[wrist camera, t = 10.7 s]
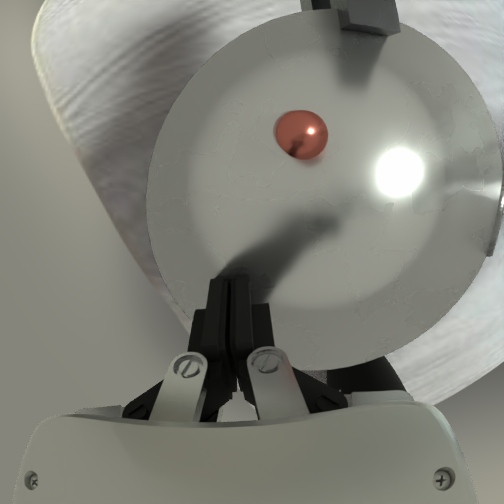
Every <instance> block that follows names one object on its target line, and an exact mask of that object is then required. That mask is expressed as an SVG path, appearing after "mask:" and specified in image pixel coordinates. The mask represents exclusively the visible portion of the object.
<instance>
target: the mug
mask: <svg viewBox="0 0 504 504" xmlns="http://www.w3.org/2000/svg"><path fill="white" fill-rule="evenodd" d="M327 385H328V386H330V387H332V388H334V389H336V390H338V391H339V392H341V393H342V394H344V395H351V394H352V392H374V391H393V390H401V391H405V392H407V391H406V389H405V388H404V386H403V384H402V382H401V380H400V379H399V377H398V375H397V374H396V372H395V370H394V369H393V367H392V366H391V364H390V363H389V362H388V360H387V359H386V358H385V356H382V357H379V358H376V359H374V360H371V361H368V362H365V363H361V364H357V365H353V366H349V367H344V368H337V369H331V370H327Z"/></svg>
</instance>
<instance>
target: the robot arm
mask: <svg viewBox="0 0 504 504" xmlns="http://www.w3.org/2000/svg"><path fill="white" fill-rule="evenodd" d="M237 378H238V383H239V387H240V391H241V392H242V391H243V393H244V397H245V400H246V401H248V402H249V403H251V404H252V405H254V406H255V410H256V414H257V418H258V420H254V421H240V422H239V421H238V422H221V418H222V413H223V405H224V404H225V403H226V402H228V401H229V399H232V392H236V391H237ZM12 504H479V503H478V499H477V495H476V491H475V488H474V484H473V482H472V478H471V475H470V472H469V469H468V466H467V463H466V460H465V457H464V455H463V452H462V450H461V447H460V445H459V443H458V440H457V438H456V436H455V434H454V432H453V430H452V428H451V426H450V425H449V423H448V421H447V420H446V418H445V417H444V416H443V414H442V413H441V412H440V411H439V410H438V409H436V408H435V407H434V406H432V405H430V404H427V403H423V402H418V401H414V399H413V397H412V396H411V395H410V394H409V393H407V392H405V391H401V390H393V391H374V392H352V394H351V395H344V394H342V393H341V392H339V391H338V390H336V389H334V388H332V387H330V386H328V385H326V384H324V383H322V382H320V381H318V380H316V379H315V378H313V377H311V376H309V375H307V374H305V373H303V372H301V371H300V370H298V369H296V368H294V367H292V366H291V365H290V362H289V359H288V357H287V355H286V353H285V352H284V351H282V350H281V349H279V348H277V347H275V343H274V336H273V328H272V321H271V314H270V307H269V303H262V304H252V298H251V290H250V282H249V275H245V276H236V280H232V281H231V294H230V288H229V283H228V281H224V280H223V278H215V279H210V283H209V290H208V297H207V304H206V309H196V310H195V312H194V317H193V322H192V328H191V334H190V339H189V346H188V351H187V352H186V353H182V354H180V355H178V356H177V357H175V358H174V359H173V360H172V362H171V363H170V366H169V368H168V371H167V373H166V376H165V378H164V380H162V381H161V382H159V383H158V384H156V385H155V386H153V387H152V388H151V389H149V390H148V391H147V392H145V393H143V394H142V395H140V396H139V397H137V398H136V399H134V400H133V401H131V402H130V403H129V404H128V405H126V407H122V406H121V405H117V406H107V407H97V408H84V409H79V410H78V411H76V412H75V413H72V414H61V415H56V416H52V417H49V418H47V419H45V420H43V421H42V422H40V424H39V425H38V426H37V427H36V429H35V430H34V432H33V434H32V436H31V439H30V441H29V443H28V446H27V448H26V451H25V454H24V457H23V460H22V463H21V466H20V470H19V474H18V478H17V482H16V487H15V491H14V496H13V501H12Z"/></svg>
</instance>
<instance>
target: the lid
mask: <svg viewBox="0 0 504 504" xmlns="http://www.w3.org/2000/svg"><path fill="white" fill-rule="evenodd" d="M330 4H331V9H321V10H311V11H302V12H298V13H294V14H290V15H287V16H283V17H280V18H276V19H273V20H270V21H268V22H266V23H264V24H262V25H259V26H257V27H255V28H253V29H251V30H249V31H247V32H245V33H243V34H241V35H240V36H239V37H237V38H236V39H234V40H233V41H231V42H230V43H229V44H227V45H226V46H224V47H223V48H222V49H220V50H219V51H218V52H216V53H215V54H214V55H213V56H212V57H211V58H210V59H209V60H208V61H207V62H206V63H205V64H204V65H203V66H202V67H201V68H200V69H199V70H198V71H197V72H196V73H195V74H194V75H193V76H192V77H191V79H190V80H189V82H188V83H187V84H186V86H185V87H184V89H183V90H182V91H181V93H180V94H179V96H178V97H177V99H176V100H175V102H174V103H173V105H172V107H171V109H170V111H169V113H168V115H167V117H166V119H165V121H164V123H163V125H162V128H161V130H160V132H159V134H158V137H157V140H156V144H155V147H154V151H153V154H152V158H151V162H150V165H149V173H148V181H147V190H146V215H147V228H148V233H149V238H150V243H151V248H152V252H153V255H154V258H155V261H156V263H157V266H158V269H159V272H160V274H161V277H162V278H163V280H164V282H165V284H166V286H167V288H168V290H169V291H170V293H171V295H172V297H173V298H174V300H175V301H176V302H177V304H178V305H179V306H180V308H181V309H182V310H183V312H184V313H185V314H186V315H187V316H188V317H189V318H190V319H191V320H192V321H193V317H194V312H195V310H196V309H206V304H207V297H208V290H209V283H210V279H215V278H223V280H224V281H228V283H229V288H230V294H231V281H232V280H236V276H245V275H249V282H250V290H251V298H252V304H262V303H269V307H270V314H271V321H272V328H273V336H274V343H275V347H277V348H279V349H281V350H282V351H284V352H285V353H286V355H287V357H288V359H289V362H290V365H291V366H292V367H294V368H296V369H298V370H309V371H314V370H331V369H337V368H344V367H349V366H353V365H357V364H361V363H365V362H368V361H371V360H374V359H376V358H379V357H382V356H384V355H386V354H388V353H391V352H393V351H395V350H397V349H399V348H401V347H403V346H404V345H406V344H408V343H409V342H411V341H413V340H414V339H416V338H417V337H419V336H420V335H421V334H423V333H424V332H426V331H427V330H428V329H430V328H431V327H432V326H433V325H434V324H436V323H437V322H438V321H439V320H440V319H441V318H442V317H443V316H445V315H446V313H447V312H448V311H449V310H450V309H451V308H452V307H453V306H454V305H455V304H456V303H457V302H458V300H459V299H460V298H461V297H462V295H463V294H464V293H465V291H466V290H467V289H468V287H469V286H470V284H471V283H472V281H473V280H474V278H475V276H476V275H477V273H478V272H479V270H480V268H481V266H482V264H483V262H484V260H485V258H486V256H488V257H490V256H492V255H493V253H494V249H495V245H496V242H497V238H498V234H499V230H500V225H501V221H502V216H503V211H504V171H503V170H502V158H501V151H500V146H499V141H498V136H497V133H496V130H495V127H494V124H493V121H492V118H491V115H490V113H489V110H488V108H487V106H486V104H485V102H484V100H483V98H482V96H481V94H480V93H479V91H478V89H477V88H476V86H475V85H474V83H473V82H472V80H471V79H470V77H469V76H468V74H467V73H466V72H465V71H464V70H463V69H462V67H461V66H460V65H459V64H458V63H457V62H456V61H455V59H454V58H453V57H452V56H450V55H449V54H448V53H447V52H446V51H445V50H444V49H442V48H441V47H440V46H439V45H438V44H437V43H435V42H434V41H433V40H431V39H429V38H428V37H426V36H425V35H423V34H422V33H420V32H418V31H417V30H415V29H413V28H411V27H409V26H407V25H405V24H403V23H400V22H399V18H398V13H397V8H396V3H395V0H330Z"/></svg>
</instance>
